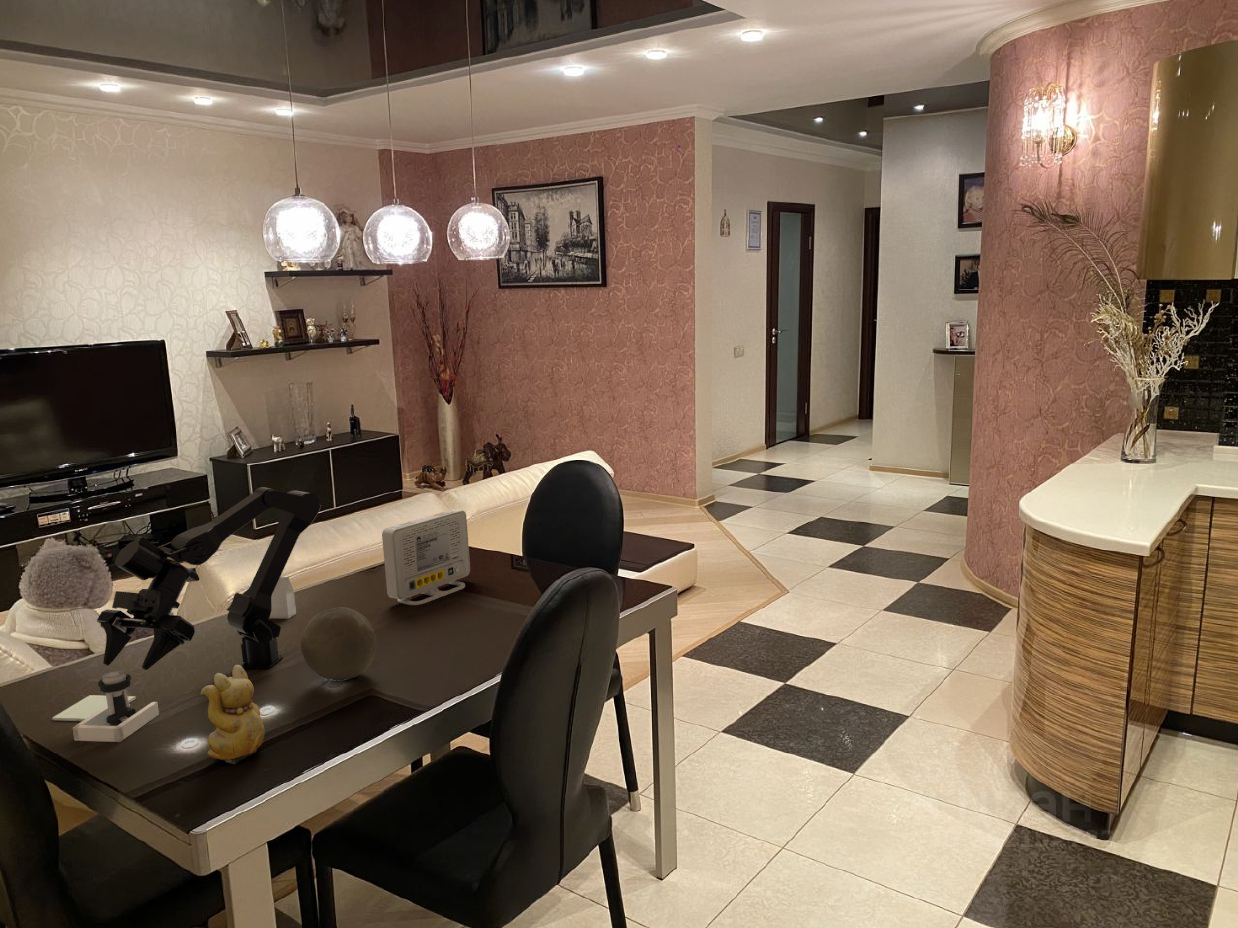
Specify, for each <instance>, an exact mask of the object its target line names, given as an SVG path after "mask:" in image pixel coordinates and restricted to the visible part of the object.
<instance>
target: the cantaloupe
mask: <svg viewBox="0 0 1238 928" xmlns="http://www.w3.org/2000/svg"><path fill="white" fill-rule="evenodd" d="M300 649H301V653H302V656H303V658H304V661H305V662H306V665H307V666H308V667H309V668H310V669H311V670H312V671H314V672H315V673H316V674H317V675H319V676H320V677H322V678H324V679H328V680H332V681H334V682H341V681H343V682H344V681H346V680H351V679H353V678H356V677H358V676H359V675H361V674H362V673H364V672H365V670H366V669H368V668H369V667H370V665H371V664H372V662H373V660H374V658H375V655H376V651H377V637H376V634H375V630H374V627H373V626H372V624H371V623H370V621H369V620H368V619H367V617H365V616H364V615H363V614H361V613H360V612H358V611H357V610H355V609H354V608H350V607H346V606H345V607H344V606H337V607H333V608H328V609H325V610H322V611H320V612H318V613H317V614H314V616H313V617H312V618H310V620H309V621H308V623H307V625H306V627H305V628H304V629H303V631H302V634H301V639H300Z"/></svg>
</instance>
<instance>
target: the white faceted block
mask: <svg viewBox="0 0 1238 928" xmlns="http://www.w3.org/2000/svg"><path fill="white" fill-rule="evenodd" d="M296 614H297V607H296V598H295V591H294V588H293V586H292V583H291V581H290V577H289V576H280V579H279V581H278V583H277V585H276V587H275V589H274V592H273V594H272V611H271V615H270V618H269V619H291V618H292V617H293V616H294V615H296Z"/></svg>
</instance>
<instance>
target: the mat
mask: <svg viewBox="0 0 1238 928" xmlns="http://www.w3.org/2000/svg"><path fill="white" fill-rule="evenodd" d="M136 697H137V696H136V695H134V696H133V695H132V696H131V695H128V702H129V704H130V703H131V702H133V701H134V700H136V699H137V698H136ZM105 706H107V699H106V695H93V694H92V695H91V694H90V695H88V696H86V697H85V698H83V699H80V700H79V701H77V702H76V703H74V704H73V705H71V706H69V707H68V708H66V709H64V710H63V711H61V712H60V713H57V714H56V715H54V716H53V717H52V721H60V722H61V721H70V722H71V721H72V722H82V721H83V720H85V719H87V718H88V717H90V716H91V715H93V714H94V713H96V712H98V711H99V710H101V709H102V708H104V707H105Z"/></svg>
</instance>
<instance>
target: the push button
mask: <svg viewBox="0 0 1238 928" xmlns="http://www.w3.org/2000/svg"><path fill="white" fill-rule="evenodd" d="M131 680H132V676H131V675H130V674H129V673H126V672H125V670H114V671H110V672H107V673H106V674H104V675H103V676H102V679H100V680H99V681H98V682H97V686H98V687H99V690H100V691H101V692H102V693H105V696H106V699H107V706H108V715H107V716H105V724H104V725H102V726H118V725H119V724H121V723H122V722H124V721H125V720H127V719H128V718H130V717H131V716H132V715H134V714H135V713H137V712H136V709H135V708H133V707H131V704H130V703H129V702H128V696H129V695H128V690H127V688H129V687H130V686H131V684H132V683H131Z"/></svg>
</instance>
